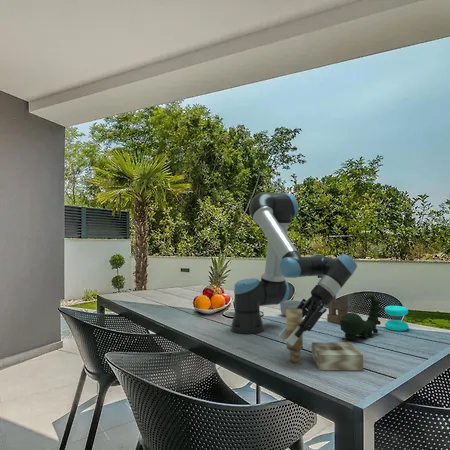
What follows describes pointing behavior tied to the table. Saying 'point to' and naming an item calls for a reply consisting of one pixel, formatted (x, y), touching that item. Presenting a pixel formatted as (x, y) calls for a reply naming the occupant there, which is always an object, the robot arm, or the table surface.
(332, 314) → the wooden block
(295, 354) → the oak peg
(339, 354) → the birch socket block
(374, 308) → the toy figurine
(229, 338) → the table surface
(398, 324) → the cyan spool
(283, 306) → the teacup
